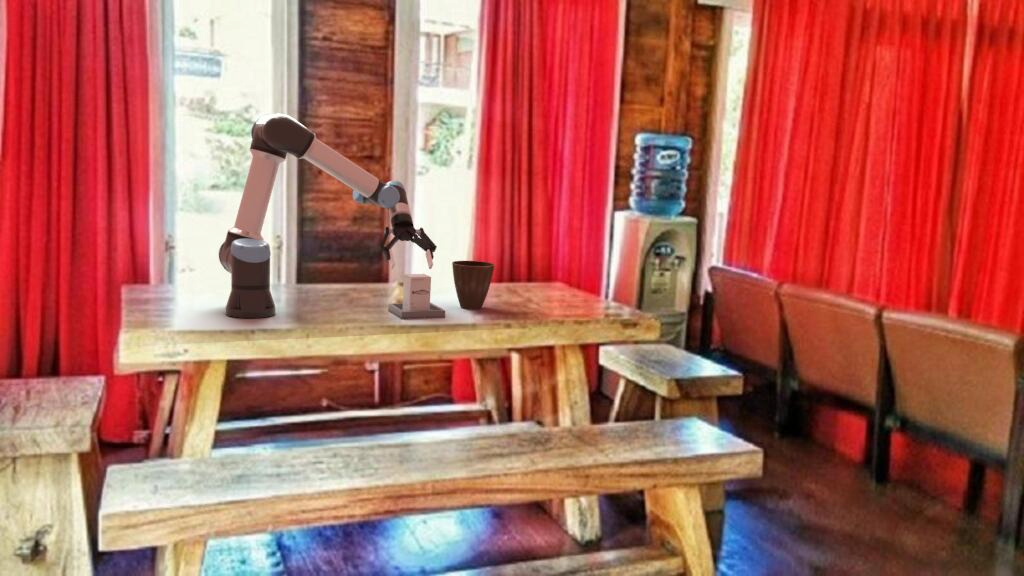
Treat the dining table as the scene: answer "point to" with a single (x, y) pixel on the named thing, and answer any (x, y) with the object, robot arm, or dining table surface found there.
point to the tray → (416, 312)
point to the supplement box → (416, 292)
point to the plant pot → (472, 282)
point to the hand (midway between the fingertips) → (412, 266)
